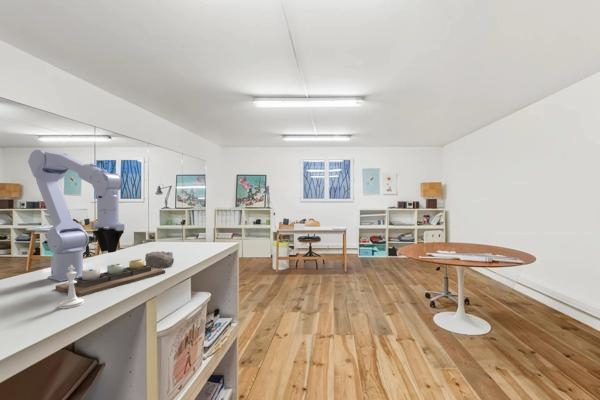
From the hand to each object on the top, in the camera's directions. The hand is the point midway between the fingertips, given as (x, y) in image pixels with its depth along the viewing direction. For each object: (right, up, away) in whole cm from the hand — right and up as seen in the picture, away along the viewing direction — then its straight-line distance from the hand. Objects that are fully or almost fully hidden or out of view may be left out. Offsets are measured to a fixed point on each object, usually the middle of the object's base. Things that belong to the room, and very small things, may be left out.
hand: (108, 251), depth 89 cm
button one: (-1, -7, -6) cm, 9 cm away
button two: (+2, -7, 0) cm, 7 cm away
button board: (+2, -9, 0) cm, 10 cm away
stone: (+7, -10, +19) cm, 22 cm away
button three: (+5, -7, +6) cm, 11 cm away
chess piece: (+5, -10, -21) cm, 23 cm away
